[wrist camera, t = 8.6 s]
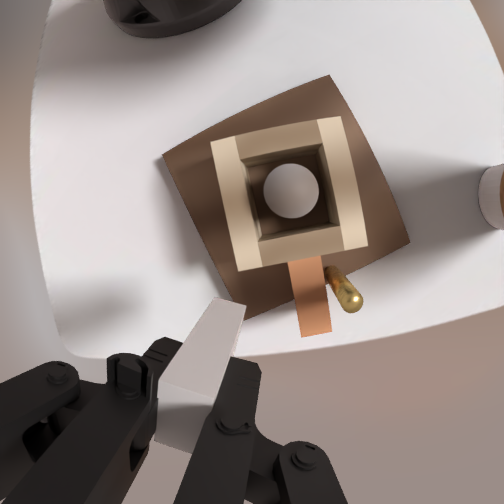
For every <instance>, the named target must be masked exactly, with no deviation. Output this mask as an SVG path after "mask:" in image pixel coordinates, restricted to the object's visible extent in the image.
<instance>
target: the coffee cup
mask: <svg viewBox="0 0 504 504" xmlns="http://www.w3.org/2000/svg"><path fill="white" fill-rule="evenodd" d="M478 197H479V205H480V209H481V212H482V214H483V216H484V218H485V219H486V221H487V222H488V223H489V224H490V225H491V226H493V227H495V228H498V229H501V230H504V164H500V165H497V166H493V167H490V168H489V169H487V170H486V171H485V172H484V174H483V175H482V177H481V180H480V183H479V190H478Z"/></svg>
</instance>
